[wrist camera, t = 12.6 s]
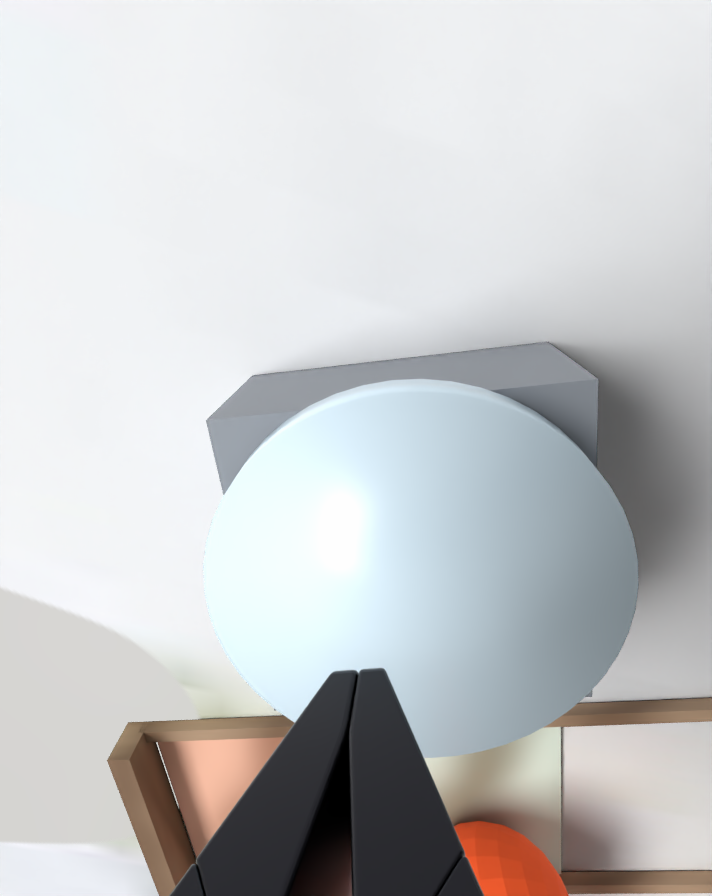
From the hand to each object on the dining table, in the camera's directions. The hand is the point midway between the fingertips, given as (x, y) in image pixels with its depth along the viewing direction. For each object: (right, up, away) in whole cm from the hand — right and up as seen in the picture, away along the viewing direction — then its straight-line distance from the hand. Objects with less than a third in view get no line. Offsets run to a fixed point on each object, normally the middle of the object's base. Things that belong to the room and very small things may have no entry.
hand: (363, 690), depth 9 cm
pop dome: (+2, +2, +11) cm, 11 cm away
